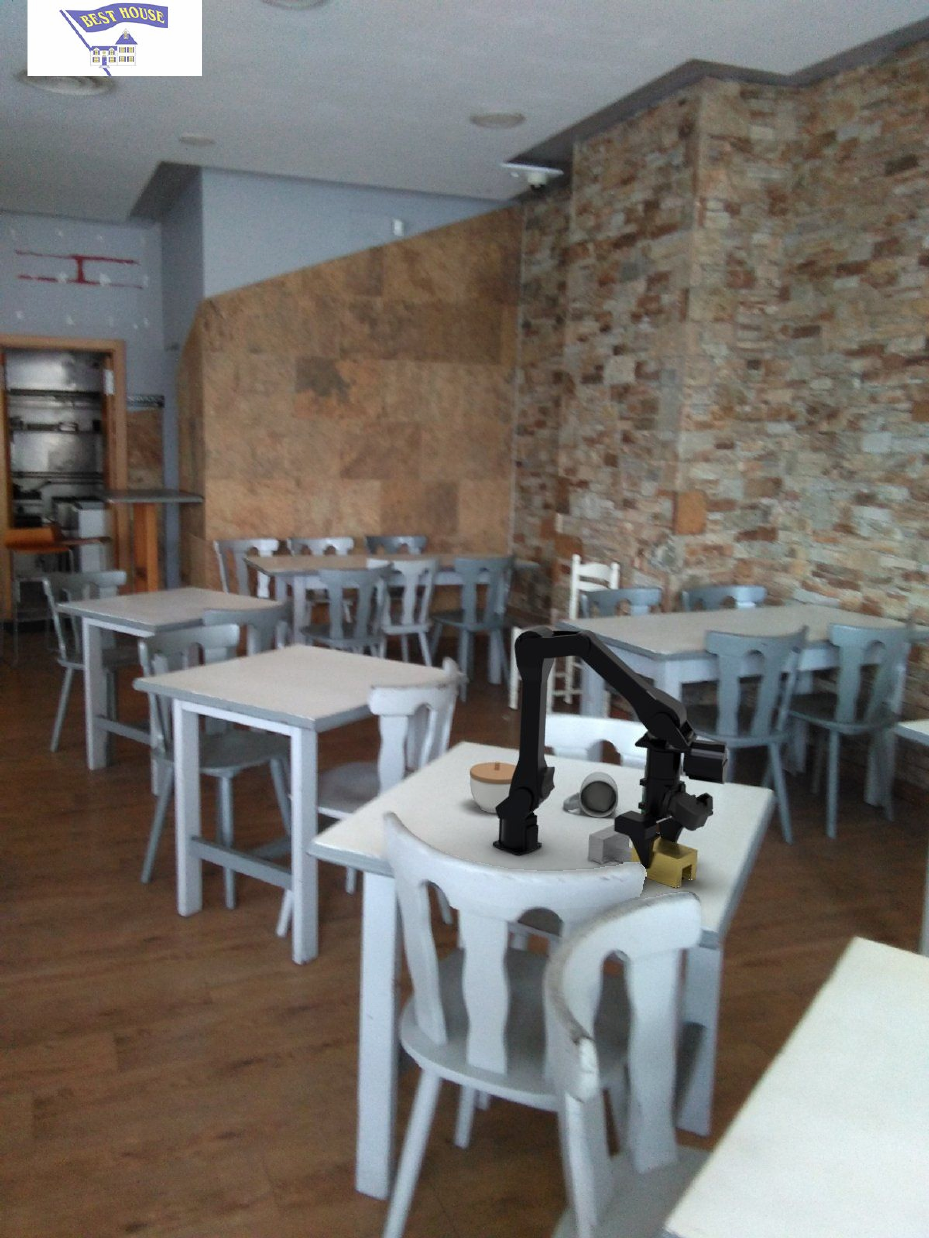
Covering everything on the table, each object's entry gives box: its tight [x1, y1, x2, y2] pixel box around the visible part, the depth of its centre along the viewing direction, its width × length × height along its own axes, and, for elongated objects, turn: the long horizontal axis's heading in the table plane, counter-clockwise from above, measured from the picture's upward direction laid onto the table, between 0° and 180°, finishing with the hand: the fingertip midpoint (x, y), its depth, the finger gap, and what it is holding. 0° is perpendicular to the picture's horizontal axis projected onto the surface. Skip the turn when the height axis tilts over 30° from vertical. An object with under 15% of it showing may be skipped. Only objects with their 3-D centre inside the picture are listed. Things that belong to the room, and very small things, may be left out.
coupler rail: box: [587, 824, 632, 865], centre depth 182 cm, size 10×8×4 cm
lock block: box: [631, 837, 698, 889], centre depth 176 cm, size 9×6×5 cm, turn 46°
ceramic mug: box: [562, 771, 619, 819], centre depth 206 cm, size 11×8×8 cm
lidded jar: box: [469, 761, 517, 814], centre depth 206 cm, size 11×11×9 cm
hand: (656, 863), depth 177 cm, fingers closed on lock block, 6 cm apart
